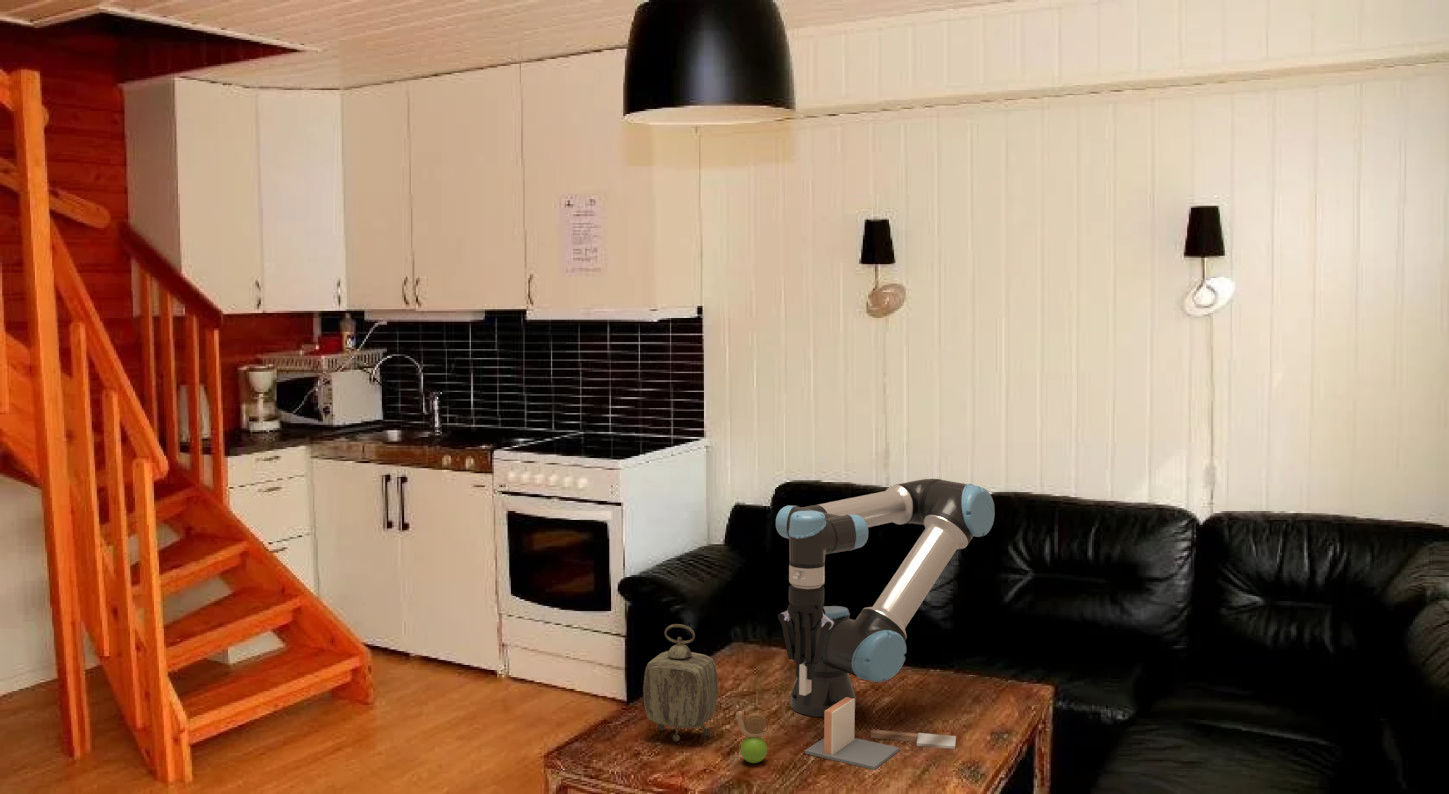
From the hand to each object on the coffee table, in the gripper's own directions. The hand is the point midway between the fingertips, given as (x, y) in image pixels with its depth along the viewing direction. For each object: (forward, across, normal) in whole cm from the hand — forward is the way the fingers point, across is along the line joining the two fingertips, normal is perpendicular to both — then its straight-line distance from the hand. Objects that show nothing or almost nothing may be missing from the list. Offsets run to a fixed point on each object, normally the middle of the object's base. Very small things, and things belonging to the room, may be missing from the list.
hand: (805, 693), depth 257 cm
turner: (+11, +19, +13) cm, 26 cm away
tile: (+10, +8, 0) cm, 13 cm away
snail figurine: (+11, -4, -16) cm, 19 cm away
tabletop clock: (+11, -24, -13) cm, 29 cm away
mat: (+11, +11, 0) cm, 15 cm away
